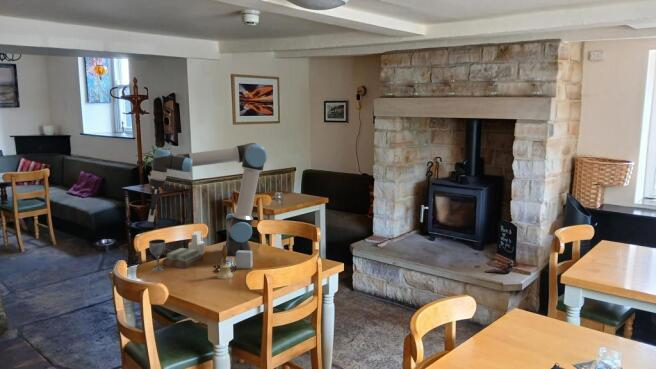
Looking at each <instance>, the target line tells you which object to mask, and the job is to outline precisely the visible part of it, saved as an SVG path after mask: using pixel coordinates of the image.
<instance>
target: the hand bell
mask: <svg viewBox="0 0 656 369" xmlns="http://www.w3.org/2000/svg"><path fill="white" fill-rule="evenodd" d="M221 255H222V264H221V265H219V267H220V268H219V272H218V274H216V278H217V279H220V280H224V279H225V280H228V279H231V278H233V277H234V273H232V271H231V269H230V265H228V264H227V257H228V255H227V248H226V244H223V246H222V249H221Z"/></svg>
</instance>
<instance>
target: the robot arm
mask: <svg viewBox="0 0 656 369" xmlns="http://www.w3.org/2000/svg"><path fill="white" fill-rule="evenodd" d="M267 160H268V154H267V150H266V149H265V148H264V146H263V145H261V144H257V143H254V142H250V143H246V144H242V145H236V146H234V147H231V148H223V149H213V150H206V151H198V152H190V153H189V152H188V153H177V154H175V155H173V154H171V151H170V150H167V149H160V148H158V149H155V150H154V155H153V160H152V167H151V171H150V172H149V174H150V179H149V182H148V183H149V184H148V185H149V186H150V187H153V189H151V197H150V198H151V204H150V206H149V207H148V209H149V213H148V217H147V222H151V223H154V221H155V216H156V210H157V205H158V204H159V203H158V199H159V196H160V193H161V190H160V188H163V189H164V188H165V186H166V185H165V184H166V179H167V174H168V170H171V171H178V172H183V173H190V172H191V171H192V169H193V167H201V166H209V165H216V164H224V163H232V162H233V163H234V162H236V163H239V164H241V167H242V170H243V174H242V179H241V183H240V189H239V193H238V194H239V195H238V199H237V203H236V209H235V212H233V213H228V214H226V217H225V220H226V241H225V245H226V248H227V256H235V257H236V252H237V251H238V250H243V251H252V250H251V249H252V248H251V246H250V242H249V240H250V239H251V237H252V235H253V228H252V226H253V221H254V218H253V216H252V212H253V208H254V203H255V202H254V201H255V198H256V197H255V196H256V192H257V189H258V188H257V187H258V181H259V177H260V173H262V172H263V170H264V165H265V164H266V162H267Z"/></svg>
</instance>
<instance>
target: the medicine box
mask: <svg viewBox="0 0 656 369" xmlns="http://www.w3.org/2000/svg"><path fill="white" fill-rule="evenodd" d="M253 258H254V256H253V250H251V251H243V250H238V251H237V252H236V256H235V265H236V266H235V268H236V269H249V270H250V269H252V267H253V266H254V264H253V263H254V261H253V260H254V259H253Z"/></svg>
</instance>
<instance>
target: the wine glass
mask: <svg viewBox="0 0 656 369" xmlns="http://www.w3.org/2000/svg"><path fill="white" fill-rule="evenodd" d="M148 246H149V250H150V253H151V254H152V255H153V256H154V257H155V259H156V262H157V266H156V267H153V268H152V269H151V271H152V272H162V271H164V270H166V267H165V266H160V258H161V256H162V255H163V254H164V252H165V249H166V240H165V239H163V238H162V239H161V238H160V239H152V240H149V242H148Z"/></svg>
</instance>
